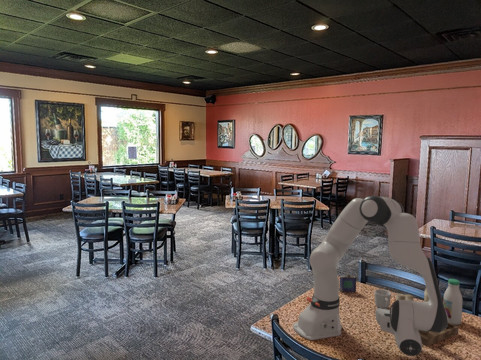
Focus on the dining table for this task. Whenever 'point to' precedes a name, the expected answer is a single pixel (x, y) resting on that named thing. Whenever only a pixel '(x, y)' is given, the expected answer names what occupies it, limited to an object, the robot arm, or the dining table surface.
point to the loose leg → (400, 297)
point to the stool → (434, 337)
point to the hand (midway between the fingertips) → (399, 310)
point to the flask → (347, 283)
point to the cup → (382, 298)
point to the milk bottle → (453, 302)
